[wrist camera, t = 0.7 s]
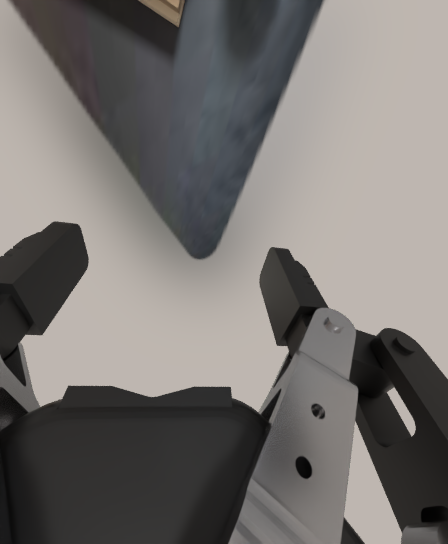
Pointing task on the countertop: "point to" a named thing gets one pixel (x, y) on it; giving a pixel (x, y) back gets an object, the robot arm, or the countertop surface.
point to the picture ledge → (167, 9)
